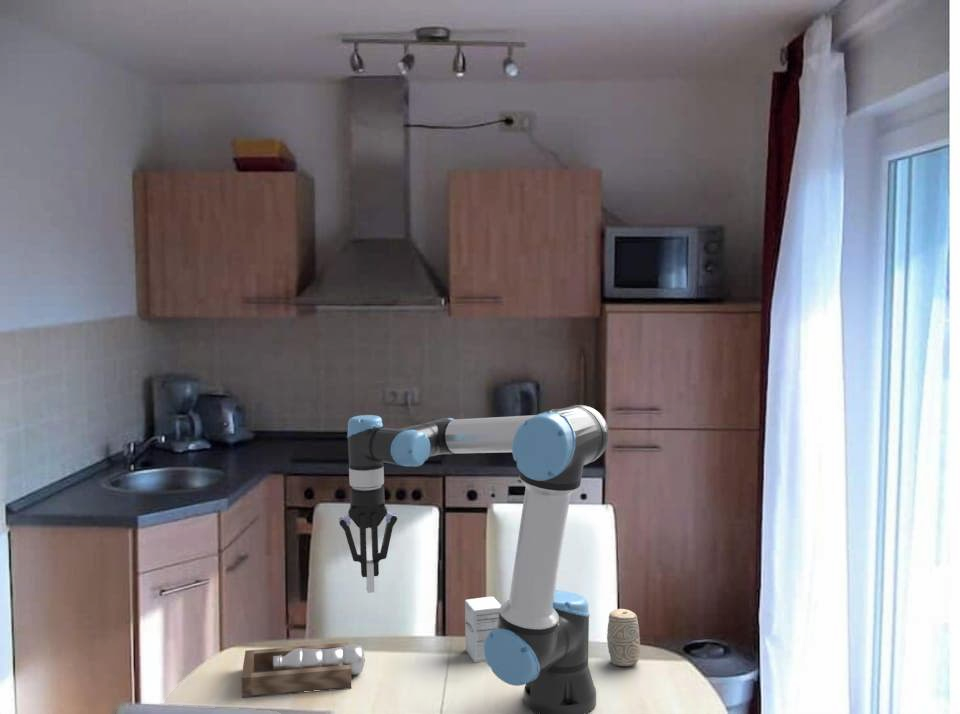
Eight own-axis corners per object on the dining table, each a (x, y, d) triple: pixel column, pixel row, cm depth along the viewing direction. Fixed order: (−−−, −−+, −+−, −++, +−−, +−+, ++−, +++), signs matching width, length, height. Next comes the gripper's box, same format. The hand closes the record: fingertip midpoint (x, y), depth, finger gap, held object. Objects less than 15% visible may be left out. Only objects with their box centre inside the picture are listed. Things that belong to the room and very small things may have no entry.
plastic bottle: (364, 637, 211) (273, 642, 208) (365, 659, 205) (272, 665, 202) (364, 658, 214) (274, 663, 211) (365, 680, 208) (273, 687, 205)
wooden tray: (348, 660, 217) (348, 642, 216) (351, 688, 203) (351, 668, 203) (246, 669, 213) (245, 650, 212) (242, 697, 199) (241, 678, 198)
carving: (608, 655, 219) (609, 606, 218) (641, 659, 217) (642, 609, 216) (604, 667, 213) (605, 616, 212) (638, 671, 211) (639, 619, 210)
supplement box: (464, 650, 222) (464, 598, 221) (494, 646, 224) (494, 595, 223) (473, 663, 215) (473, 610, 214) (504, 659, 217) (504, 606, 216)
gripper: (394, 480, 211) (398, 582, 213) (336, 484, 208) (340, 587, 211) (398, 488, 203) (401, 593, 206) (337, 492, 201) (341, 598, 203)
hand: (370, 590), depth 208 cm, fingers closed
